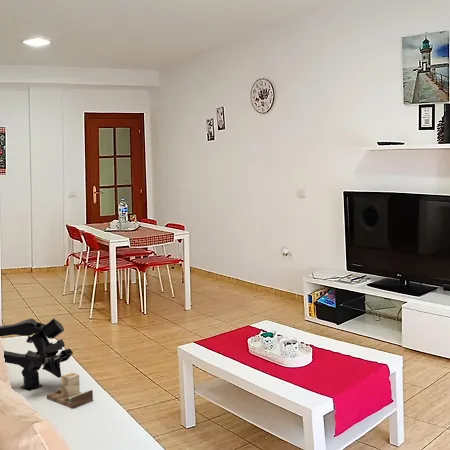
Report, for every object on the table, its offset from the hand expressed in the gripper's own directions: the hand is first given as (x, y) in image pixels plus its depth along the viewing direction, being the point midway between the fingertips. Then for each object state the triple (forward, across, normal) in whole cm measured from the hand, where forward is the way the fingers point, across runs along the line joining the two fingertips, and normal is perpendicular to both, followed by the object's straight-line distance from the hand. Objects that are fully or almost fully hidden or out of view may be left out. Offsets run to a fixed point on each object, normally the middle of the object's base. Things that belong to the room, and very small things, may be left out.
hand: (60, 377), depth 234 cm
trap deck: (+10, -2, -1) cm, 11 cm away
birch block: (+8, 0, -1) cm, 8 cm away
